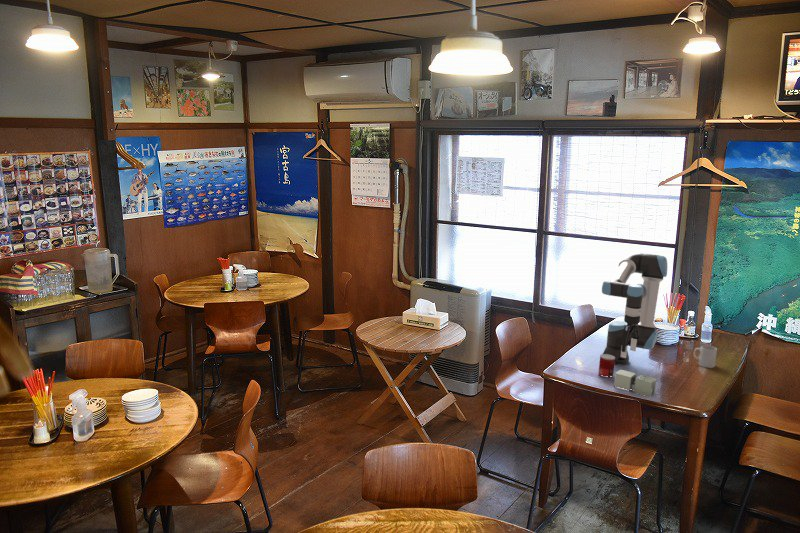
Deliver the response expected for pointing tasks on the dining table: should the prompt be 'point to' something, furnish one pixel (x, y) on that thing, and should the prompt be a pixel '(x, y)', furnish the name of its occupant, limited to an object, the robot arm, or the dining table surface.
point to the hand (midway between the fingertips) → (628, 354)
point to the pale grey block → (644, 385)
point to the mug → (706, 356)
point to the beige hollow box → (624, 379)
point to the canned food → (606, 365)
